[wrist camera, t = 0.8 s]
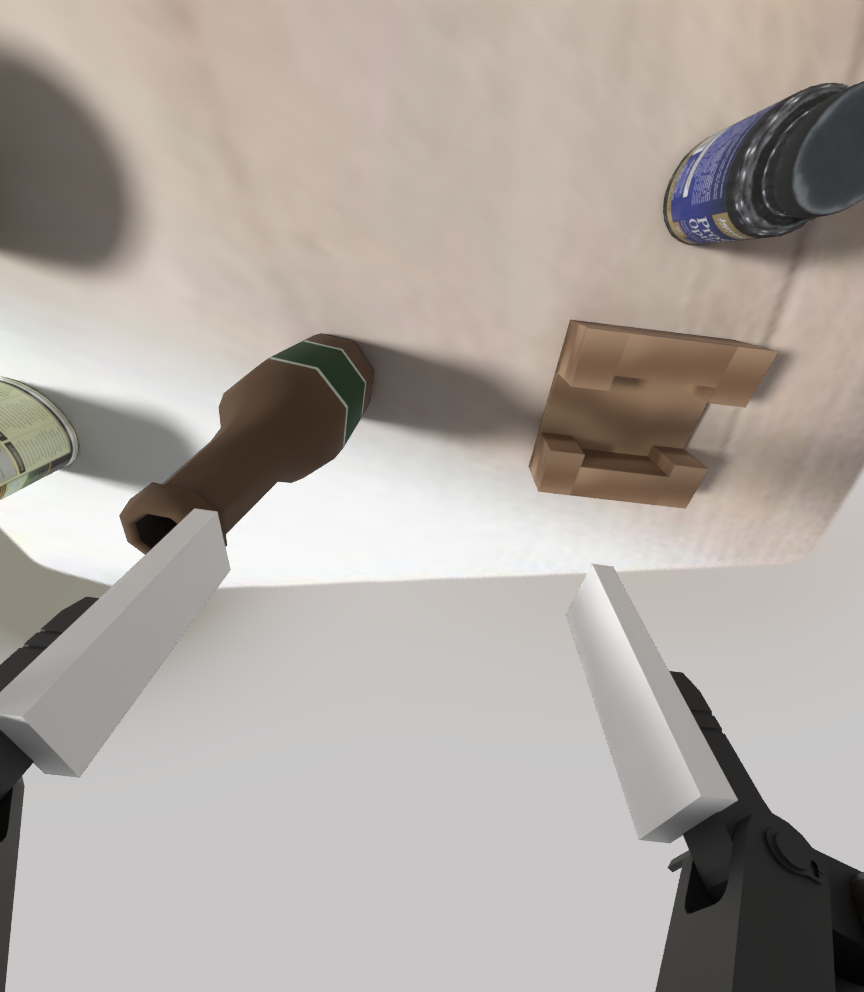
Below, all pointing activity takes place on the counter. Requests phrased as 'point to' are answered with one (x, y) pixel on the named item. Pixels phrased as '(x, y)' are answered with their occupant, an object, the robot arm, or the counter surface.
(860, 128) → the pill bottle
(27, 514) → the counter surface
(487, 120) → the counter surface
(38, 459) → the coffee can
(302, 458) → the beer bottle
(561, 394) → the socket
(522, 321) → the counter surface
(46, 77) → the counter surface
